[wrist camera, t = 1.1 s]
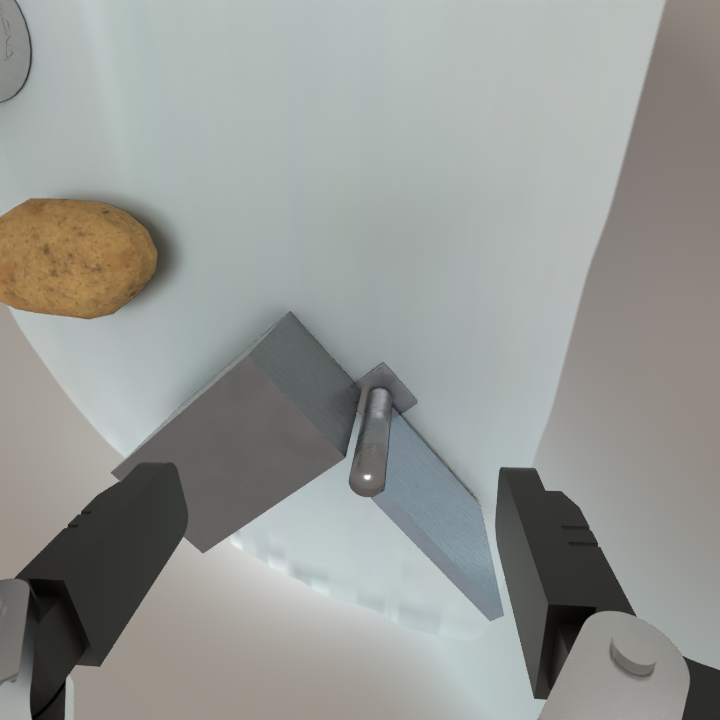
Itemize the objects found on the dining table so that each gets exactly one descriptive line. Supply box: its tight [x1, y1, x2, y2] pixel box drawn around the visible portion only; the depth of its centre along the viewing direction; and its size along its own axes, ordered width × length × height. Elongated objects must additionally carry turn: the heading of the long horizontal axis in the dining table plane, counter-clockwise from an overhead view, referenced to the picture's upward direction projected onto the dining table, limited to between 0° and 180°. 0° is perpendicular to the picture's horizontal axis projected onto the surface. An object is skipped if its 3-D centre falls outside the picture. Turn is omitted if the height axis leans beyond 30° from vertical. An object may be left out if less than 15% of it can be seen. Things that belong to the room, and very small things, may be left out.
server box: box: [111, 312, 417, 553], centre depth 37 cm, size 20×14×11 cm
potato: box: [0, 199, 158, 319], centre depth 35 cm, size 10×14×8 cm
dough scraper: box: [349, 388, 504, 621], centre depth 36 cm, size 16×2×12 cm, turn 41°
